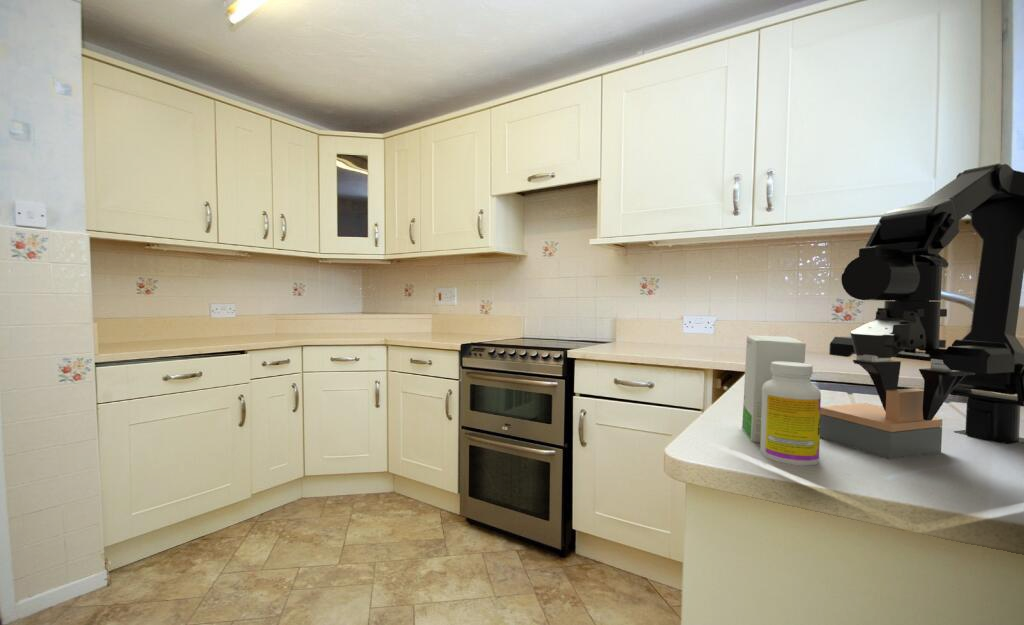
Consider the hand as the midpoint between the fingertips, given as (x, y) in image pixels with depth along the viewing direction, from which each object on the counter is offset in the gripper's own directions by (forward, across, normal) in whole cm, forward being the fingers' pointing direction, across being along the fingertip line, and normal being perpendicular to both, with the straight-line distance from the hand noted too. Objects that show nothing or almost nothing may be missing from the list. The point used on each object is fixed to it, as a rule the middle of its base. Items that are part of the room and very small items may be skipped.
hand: (907, 415), depth 62 cm
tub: (+6, -4, 0) cm, 7 cm away
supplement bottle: (+6, -3, -17) cm, 18 cm away
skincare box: (+6, -11, -12) cm, 17 cm away
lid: (+1, -4, 0) cm, 4 cm away
